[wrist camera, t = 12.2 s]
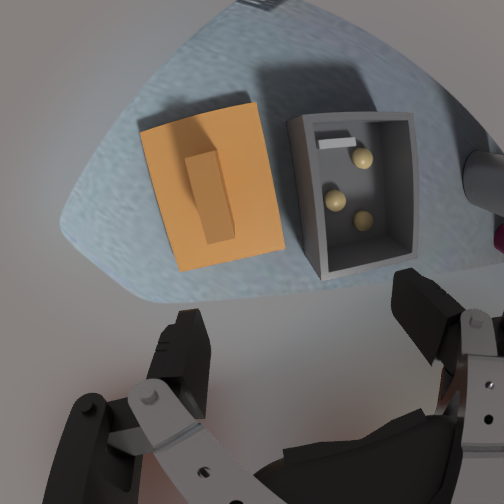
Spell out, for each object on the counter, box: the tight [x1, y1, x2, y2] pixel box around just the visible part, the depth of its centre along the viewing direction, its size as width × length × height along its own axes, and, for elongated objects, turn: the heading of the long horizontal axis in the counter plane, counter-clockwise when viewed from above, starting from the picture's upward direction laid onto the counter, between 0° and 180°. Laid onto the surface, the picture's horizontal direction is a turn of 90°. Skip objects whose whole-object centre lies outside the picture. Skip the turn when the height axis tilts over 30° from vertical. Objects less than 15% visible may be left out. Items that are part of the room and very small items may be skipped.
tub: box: [286, 112, 419, 281], centre depth 27 cm, size 12×16×7 cm
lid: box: [140, 102, 286, 272], centre depth 26 cm, size 12×16×7 cm
